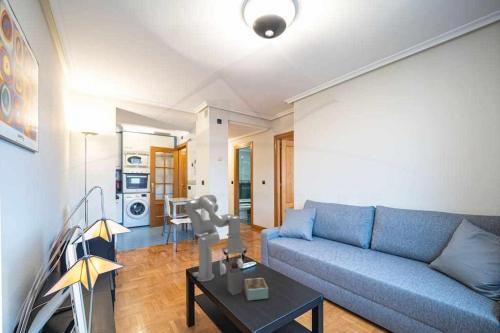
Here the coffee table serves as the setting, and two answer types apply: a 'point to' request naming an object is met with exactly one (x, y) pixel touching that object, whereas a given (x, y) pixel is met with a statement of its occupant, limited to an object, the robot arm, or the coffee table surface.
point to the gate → (257, 294)
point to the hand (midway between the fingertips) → (235, 261)
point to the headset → (223, 267)
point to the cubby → (254, 284)
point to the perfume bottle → (234, 279)
